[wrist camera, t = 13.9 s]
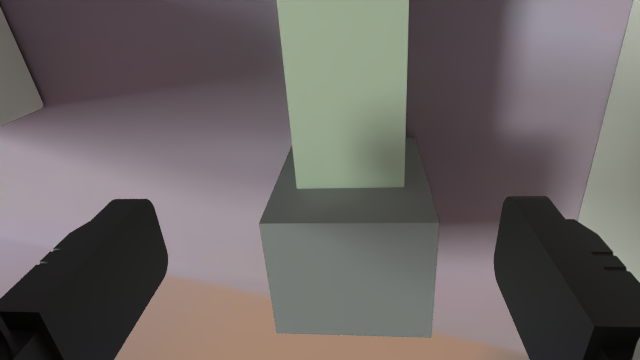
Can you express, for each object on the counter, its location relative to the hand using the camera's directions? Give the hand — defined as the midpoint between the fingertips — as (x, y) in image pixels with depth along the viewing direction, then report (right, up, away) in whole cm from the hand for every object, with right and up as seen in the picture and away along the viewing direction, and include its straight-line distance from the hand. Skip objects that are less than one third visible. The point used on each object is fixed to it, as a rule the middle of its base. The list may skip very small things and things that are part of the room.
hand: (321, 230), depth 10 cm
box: (+1, +5, +9) cm, 11 cm away
